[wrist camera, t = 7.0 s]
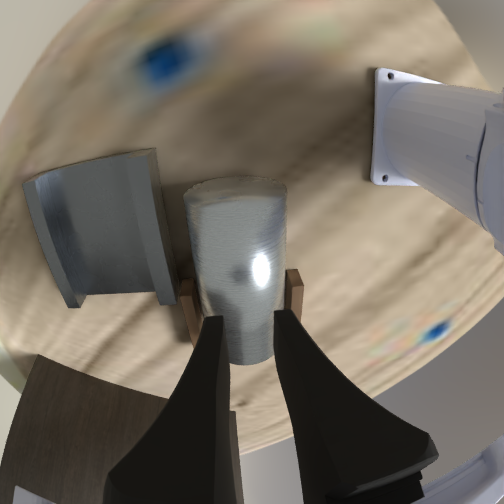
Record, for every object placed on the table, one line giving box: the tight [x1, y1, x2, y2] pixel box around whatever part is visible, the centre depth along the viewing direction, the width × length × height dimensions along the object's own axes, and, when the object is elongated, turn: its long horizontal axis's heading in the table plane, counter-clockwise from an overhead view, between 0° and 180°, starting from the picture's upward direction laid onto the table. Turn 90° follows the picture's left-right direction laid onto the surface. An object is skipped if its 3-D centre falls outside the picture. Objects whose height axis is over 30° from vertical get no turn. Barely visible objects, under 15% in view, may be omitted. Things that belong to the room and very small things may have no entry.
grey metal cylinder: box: [183, 176, 287, 365], centre depth 18 cm, size 11×5×5 cm, turn 2°
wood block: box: [0, 355, 244, 504], centre depth 22 cm, size 25×25×25 cm
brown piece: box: [180, 269, 304, 348], centre depth 21 cm, size 8×7×2 cm
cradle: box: [22, 148, 180, 308], centre depth 17 cm, size 9×10×2 cm
